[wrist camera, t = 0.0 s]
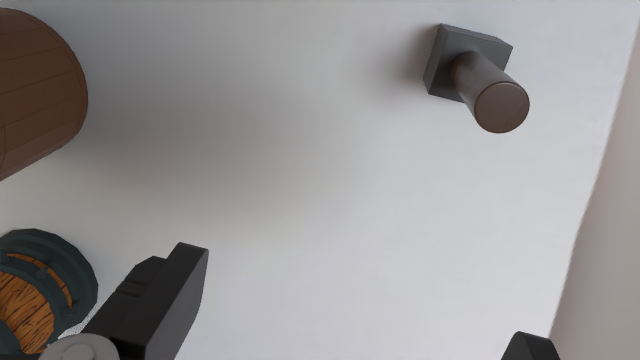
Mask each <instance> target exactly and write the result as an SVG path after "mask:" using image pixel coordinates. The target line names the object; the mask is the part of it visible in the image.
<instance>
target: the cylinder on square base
mask: <svg viewBox="0 0 640 360" xmlns="http://www.w3.org/2000/svg"><path fill="white" fill-rule="evenodd" d="M512 49H513V47H512V46H511V45H509V44H507V43H506V42H504V41H502V40H501V39H499V38H497V37H494V36H490V35H486V34H482V33H478V32H474V31H470V30H466V29H462V28H458V27H454V26H450V25H446V24H442V23H441V24H440V26H439V30H438V33H437V36H436V39H435V42H434V45H433V49H432V52H431V55H430V58H429V61H428V64H427V67H426V71H425V74H424V77H423V81H424V84H425V87H426V89H427V92H428V94H430V95H434V96H438V97H442V98H446V99H450V100H454V101H458V102H461V103H465V104H466V105H467V107H468V109H469V110H470V112H471V113H472V115H473V117H474V118H475V120H476V121H477V123H478V124H479V125H480V126H481V127H482V128H483V129H484V130H486V131H488V132H491V133H506V132H509V131H512V130H514V129H515V128H517V127H518V126H519V125H520V124H522V122H523V121H524V120H525V118H526V117H527V114H528V112H529V106H530V102H529V97H528V95H527V93H526V91H525V90H524V89H523V88H522V87H521V86H520V85H519V84H518V83H516V82H515V81H514V80H513V79H512V78H510V77H509V76H508V75H507V74H506V73H504V69H505V67H506V64H507V62H508V59H509V56H510V54H511V51H512Z"/></svg>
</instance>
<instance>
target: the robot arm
mask: <svg viewBox="0 0 640 360" xmlns="http://www.w3.org/2000/svg"><path fill="white" fill-rule="evenodd" d="M208 255H209V251H208V249H205V248H201V247H197V246H194V245H190V244H186V243H182V242H179V243H178V244H177V245H176V247H175V248H174V249H173V251H172V252H171V253H170V255H169V256H168V257H167V259H164V258H160V257H156V256H152V257H150V258H148V259H146V260H144V261H143V262H141V263H139V264H137V265H135V267H134V268H133V269H132V270H131V272H130V273H129V274H128V275H127V276H126V278H125V280H124V281H122V282H121V284H120V285H119V286H118V287H117V288H116V291H115V292H113V293H112V295H111V296H110V297H109V298H108V299H107V301H106V302H105V303H104V304H103V305H102V307H101V308H100V309H99V310H98V312H97V313H96V314H95V315H94V316H93V318H92V319H91V320H90V321H89V322H88V324H87V325H86V326H85V327H84V328H83V330H82V331H81V332H80V333H79V334H73V335H69V336H66V337H63V338H61V339H59V340H57V341H55V342H53V343H52V344H50V345H49V346H48V347H47V348H46V349H45V350H44V351H43V352H42V353H35V354H0V360H174V358H175V357H176V355H177V353H178V351H179V349H180V347H181V345H182V343H183V341H184V340H185V338H186V336H187V334H188V332H189V330H190V328H191V326H192V324H193V322H194V320H195V318H196V316H197V313H198V310H199V307H200V303H201V299H202V293H203V287H204V281H205V275H206V268H207V262H208ZM501 360H560V358H559V356H558V353H557V351H556V349H555V347H554V345H553V343H552V341H551V340H550V339H548V338H544V337H540V336H536V335H532V334H528V333H524V332H521V331H518V332H516V333H515V334H514V335H513V337H512V339H511V341H510V343H509V345H508V347H507V349H506V351H505V353H504V355H503V357H502V359H501Z"/></svg>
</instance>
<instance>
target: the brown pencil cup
mask: <svg viewBox="0 0 640 360" xmlns="http://www.w3.org/2000/svg"><path fill="white" fill-rule="evenodd" d="M87 105H88V92H87V86H86V81H85V77H84V74H83V71H82V69H81V66H80V64H79V62H78V60H77V58H76V57H75V55H74V53H73V52H72V50H71V49H70V47H69V46H68V45H67V44H66V42H65V41H64V40H63V39H62V38H61V37H60V36H59V35H58V34H57V33H56V32H55V31H54V30H53V29H52V28H50V27H49V26H48V25H46V24H45V23H44V22H42V21H40V20H39V19H37V18H35V17H33V16H31V15H29V14H27V13H24V12H21V11H18V10H13V9H8V8H0V181H2V180H4V179H5V178H7V177H9V176H11V175H13V174H14V173H16V172H18V171H20V170H22V169H23V168H25V167H27V166H29V165H30V164H32V163H34V162H36V161H38V160H39V159H41V158H43V157H45V156H47V155H48V154H50V153H52V152H54V151H55V150H57V149H59V148H61V147H62V146H63V145H64V144H66V143H68V142H69V141H70V140H71V139H72V138H73V137H74V136H75V135H76V134H77V133H78V131H79V130H80V128H81V126H82V124H83V122H84V119H85V116H86V112H87Z"/></svg>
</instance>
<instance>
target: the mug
mask: <svg viewBox="0 0 640 360" xmlns="http://www.w3.org/2000/svg"><path fill="white" fill-rule="evenodd" d="M97 292H98V283H97V280H96V278H95V275H94V272H93V270H92V267H91V265H90V264H89V263H88V261H87V260H86V259H85V258H84V257H83V255H82V254H81V253H80V252H79V251H78V249H77V248H75V247H74V246H72V245H71V244H69V243H68V242H66V241H65V240H63V239H62V238H60V237H59V236H57V235H55V234H51V233H48V232H44V231H40V230H37V229H23V230H13V231H11V232H9V233H8V234H6V235H4V236H3V237H1V238H0V354H35V353H42V352H43V351H44V350H45V349H46V348H47V346H46V345H47V344H49V343H50V344H52V343H53V342H55V341H57V340H58V337H59V336H60V335H61V334H62V333H63V332H64V331H65V330H67V329H69V328H71V327H73V326H75V325H77V324H79V323H81V322H82V321H83V320H84V319H85V318H86V316H87V315H88V314H89V312H90V311H91V310H92V308H93V307H94V305H95V304H96V302H97Z"/></svg>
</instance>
